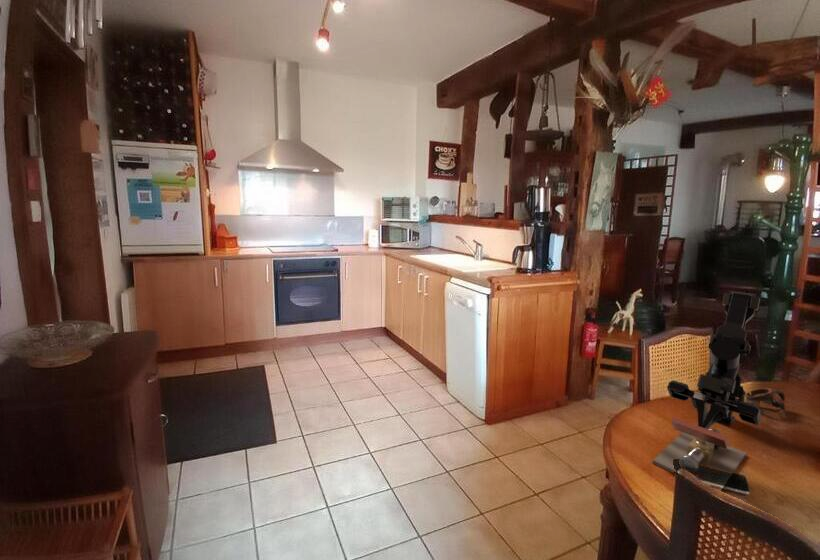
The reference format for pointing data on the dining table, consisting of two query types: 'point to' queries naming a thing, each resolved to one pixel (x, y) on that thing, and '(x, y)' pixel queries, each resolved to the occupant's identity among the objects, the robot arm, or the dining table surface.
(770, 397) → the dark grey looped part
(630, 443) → the dining table surface
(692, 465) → the pipe and valve
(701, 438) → the valve lever
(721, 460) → the mounting board
